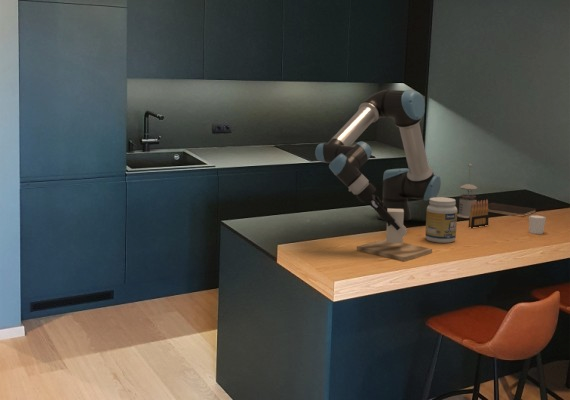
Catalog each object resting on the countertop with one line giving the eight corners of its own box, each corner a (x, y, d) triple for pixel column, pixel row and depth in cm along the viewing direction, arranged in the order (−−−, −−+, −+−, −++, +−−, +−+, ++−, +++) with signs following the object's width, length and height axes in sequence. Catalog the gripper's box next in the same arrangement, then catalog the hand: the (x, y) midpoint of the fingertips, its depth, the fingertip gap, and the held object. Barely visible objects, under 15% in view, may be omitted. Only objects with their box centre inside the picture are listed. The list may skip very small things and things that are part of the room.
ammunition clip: (471, 228, 312) (473, 201, 310) (468, 227, 314) (469, 200, 312) (488, 225, 318) (490, 199, 316) (485, 225, 320) (486, 198, 317)
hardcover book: (522, 218, 338) (522, 213, 337) (477, 211, 353) (477, 206, 352) (536, 213, 349) (536, 208, 349) (492, 207, 364) (492, 202, 364)
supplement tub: (449, 245, 282) (452, 203, 279) (420, 241, 289) (422, 200, 286) (459, 239, 293) (462, 198, 290) (431, 235, 299) (433, 195, 296)
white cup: (536, 235, 301) (537, 218, 300) (524, 231, 307) (525, 215, 306) (548, 233, 304) (549, 217, 303) (535, 230, 310) (537, 214, 309)
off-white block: (386, 242, 268) (387, 211, 266) (386, 239, 274) (387, 208, 272) (402, 243, 268) (403, 212, 265) (401, 239, 273) (403, 209, 271)
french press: (455, 216, 336) (457, 164, 332) (458, 212, 347) (461, 161, 342) (476, 218, 333) (479, 165, 328) (479, 214, 343) (482, 162, 339)
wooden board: (356, 250, 273) (356, 246, 273) (385, 242, 286) (385, 238, 285) (404, 261, 258) (404, 257, 258) (431, 252, 270) (432, 248, 270)
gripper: (355, 191, 279) (396, 233, 280) (354, 200, 260) (397, 245, 261) (370, 178, 277) (410, 221, 278) (369, 186, 259) (413, 232, 260)
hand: (404, 232), depth 270 cm, fingers closed on off-white block, 6 cm apart
